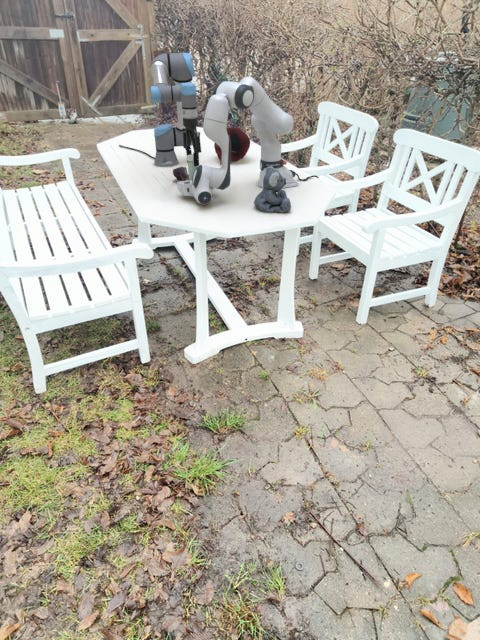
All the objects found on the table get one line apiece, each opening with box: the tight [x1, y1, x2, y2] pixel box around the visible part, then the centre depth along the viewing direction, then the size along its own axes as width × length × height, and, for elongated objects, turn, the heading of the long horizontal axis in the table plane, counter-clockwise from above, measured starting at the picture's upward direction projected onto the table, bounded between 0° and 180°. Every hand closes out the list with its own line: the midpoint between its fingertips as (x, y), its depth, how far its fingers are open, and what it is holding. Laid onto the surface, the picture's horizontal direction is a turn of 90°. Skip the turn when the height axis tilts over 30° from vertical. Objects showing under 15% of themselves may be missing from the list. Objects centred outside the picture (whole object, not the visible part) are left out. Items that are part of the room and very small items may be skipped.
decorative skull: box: [213, 126, 251, 166], centre depth 295 cm, size 21×24×25 cm
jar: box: [187, 161, 198, 180], centre depth 243 cm, size 6×6×18 cm
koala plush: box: [253, 166, 292, 213], centre depth 221 cm, size 17×18×20 cm
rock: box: [172, 166, 189, 182], centre depth 261 cm, size 12×9×10 cm
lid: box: [186, 153, 194, 162], centre depth 238 cm, size 6×6×2 cm
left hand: (193, 164), depth 240 cm, fingers open, 6 cm apart
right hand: (193, 180), depth 245 cm, fingers closed on jar, 5 cm apart
